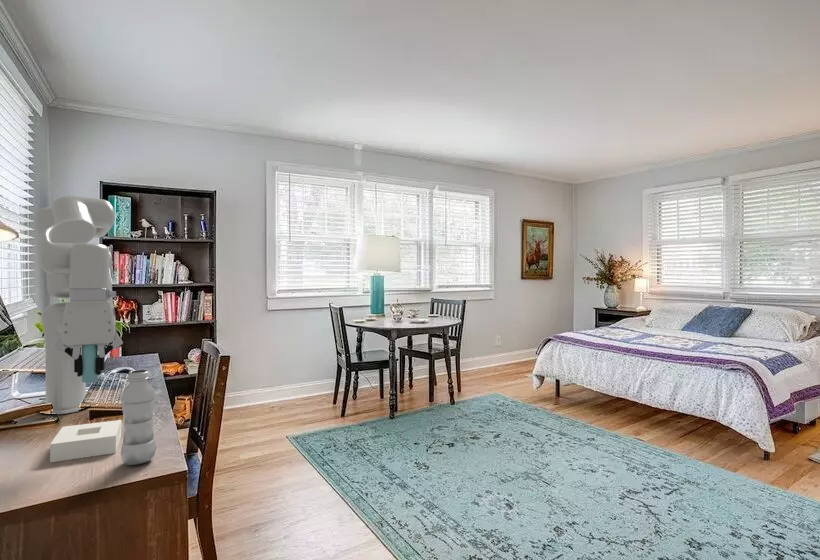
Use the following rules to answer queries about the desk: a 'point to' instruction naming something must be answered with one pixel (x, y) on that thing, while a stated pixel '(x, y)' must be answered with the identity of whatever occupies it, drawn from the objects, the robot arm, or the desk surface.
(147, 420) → the plastic bottle
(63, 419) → the desk surface
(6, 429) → the desk surface
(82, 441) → the hole block
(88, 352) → the peg
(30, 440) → the desk surface
